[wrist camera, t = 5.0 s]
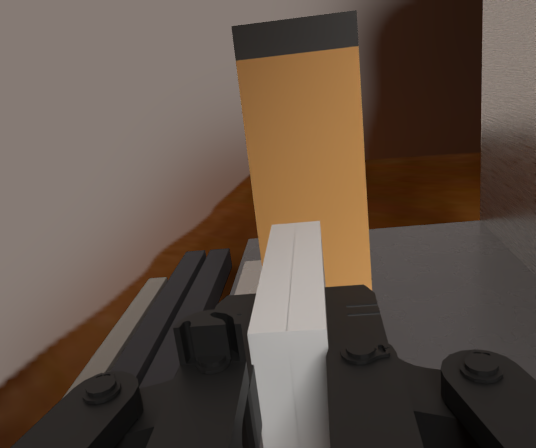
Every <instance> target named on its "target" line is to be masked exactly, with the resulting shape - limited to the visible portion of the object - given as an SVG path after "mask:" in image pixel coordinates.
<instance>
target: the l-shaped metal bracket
mask: <svg viewBox="0 0 536 448" xmlns="http://www.w3.org/2000/svg"><path fill="white" fill-rule="evenodd" d="M482 43H483V45H482V46H483V48H482V115H481V117H482V118H481V120H482V121H481V187H480V221H468V222H455V223H443V224H430V225H418V226H405V227H393V228H380V229H369V243H370V261H371V279H372V291H373V292H374V293H375V296H376V299H377V303H378V307H379V310H380V314H381V318H382V321H383V325H384V329H385V332H386V336H387V340H388V343H389V344H390V345H392V346H393V348H394V349H395V351H396V352H397V356H398V358H400V359H402V360H403V361H405V362H407V363H410V364H413V365H416V366H420V367H425V368H432V369H439V370H441V365H442V361H443V360H444V359H445V358H446V357H447V356H449V355H450V354H453V353H456V352H458V351H461V350H473V349H478V350H487V351H492V352H495V353H498V354H501V355H504V356H506V357H508V358H509V359H511V360H512V361H514V362H515V363H517V364H518V365H519V366H520V367H522V368H523V369H524V370H525V371H526V372H527V373H528V374H530V375H531V376H532V377H533V378H534V379H535V380H536V0H483V42H482ZM261 270H262V263H261V256H260V248H259V240H258V238H255V239H249V240H248V243H247V246H246V249H245V251H244V254H243V257H242V260H241V263H240V266H239V269H238V272H237V275H236V278H235V281H234V284H233V287H232V289H231V292H230V295H241V294H255V293H257V288H258V284H259V279H260V275H261ZM260 448H263V441H262V434H261V440H260Z"/></svg>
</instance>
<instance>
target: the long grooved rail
mask: <svg viewBox="0 0 536 448" xmlns="http://www.w3.org/2000/svg"><path fill="white" fill-rule="evenodd" d="M231 267H232V263H231V256H230V249H229V248H228V249H216V250H210V252H209V254H208V256H207V257H206V253H205V250H203V251H190V252H186V253H185V255H184V256H183V258H182V259H181V261H180V263H179V264H178V266H177V267H176V269H175V270H174V272H173V274H172V275H171V277H170V278H169V280H168V281H167V277H163V278H149V280H148V281H147V282H146V284H145V285H144V286H143V288H142V289H141V291H140V292H139V293H138V295H137V296H136V298H135V299H134V300H133V302H132V303H131V304H130V306H129V307H128V309H127V310H126V311H125V313H124V314H123V315H122V317H121V318H120V320H119V321H118V322H117V324H116V325H115V326H114V328H113V329H112V331H111V332H110V333H109V335H108V336H107V337H106V339H105V340H104V342H103V343H102V344H101V346H100V347H99V348H98V350H97V351H96V353H95V354H94V355H93V357H92V358H91V359H90V361H89V362H88V364H87V365H86V366H85V368H84V369H83V371H82V372H81V373H80V375H79V376H78V377H77V379H76V380H75V382H74V383H73V384H72V386H71V387H70V388H69V390H68V391H67V393H66V394H65V395H64V397H65V396H66V395H67V394H68V393H69V392H70V391H71V390H72V389H73V388H74V387H76V386H77V385H79V384H80V383H81V382H83V381H84V380H86V379H88V378H91V377H93V376H94V375H96V374H100V373H104V372H109V371H124V372H128V373H131V374H133V375H134V376H135V377H136V378H137V379H138V383H139V388H144V387H147V386H151V385H155V384H159V383H163V382H166V381H169V380H171V379H173V378H175V376H176V374H177V371H178V369H179V366H180V362H179V357H178V352H177V347H176V342H175V336H174V331H173V327H174V326H175V325H176V324H177V323H178V321H180V320H181V319H183V318H185V317H186V316H188V315H191V314H194V313H197V312H200V311H206V310H212V309H215V307H216V305H217V304H218V302H219V299H220V297H221V294H222V291H223V289H224V286H225V283H226V281H227V278H228V275H229V273H230V270H231ZM64 397H63V398H64ZM63 398H62V399H63Z"/></svg>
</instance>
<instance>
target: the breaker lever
mask: <svg viewBox="0 0 536 448" xmlns="http://www.w3.org/2000/svg"><path fill="white" fill-rule="evenodd" d="M357 31H358V30H357V12H356V11H348V12H340V13H332V14H324V15H317V16H309V17H301V18H293V19H285V20H278V21H270V22H262V23H254V24H247V25H238V26H232V33H233V42H234V50H235V58H236V66H237V73H238V81H239V89H240V97H241V105H242V113H243V121H244V129H245V136H246V144H247V153H248V160H249V169H250V176H251V184H252V192H253V200H254V208H255V216H256V224H257V232H258V240H259V248H260V256H261V263H262V266H263V262H264V257H265V253H266V248H267V244H268V239H269V235H270V230H271V226H272V225H275V224H287V223H299V222H311V221H320V227H321V238H322V250H323V261H324V273H325V284H326V287H334V286H348V285H363V284H364V285H365V286H367V287H368V288H369V289H370V290H372V279H371V261H370V243H369V225H368V207H367V190H366V172H365V155H364V137H363V119H362V101H361V83H360V65H359V49H358V48H359V47H358V32H357Z"/></svg>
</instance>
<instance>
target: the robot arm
mask: <svg viewBox="0 0 536 448" xmlns="http://www.w3.org/2000/svg"><path fill="white" fill-rule="evenodd" d="M173 331H174V336H175V342H176V347H177V352H178V357H179V362H180V366H179V369H178V371H177V374H176V376H175V378H173V379H171V380H169V381H166V382H163V383H159V384H155V385H151V386H147V387H144V388H139V383H138V379H137V378H136V377H135V376H134V375H133V374H131V373H128V372H124V371H109V372H104V373H100V374H96V375H94V376H93V377H91V378H88V379H86V380H84V381H83V382H81V383H80V384H79V385H77V386H76V387H74V388H73V389H72V390H71V391H70V392H69V393H68V394H67V395H66V396H65V397H64V398H63V399H61V400H60V401H59V402H58V403H57V404H56V405H55V406H54V407H53V408H52V409H51V410H50V411H49V412H48V413H47V414H46V415H44V416H43V417H42V418H41V419H40V420H39V421H38V422H37V423H36V424H35V425H34V426H33V427H32V428H31V429H30V430H29V431H28V432H26V433H25V434H24V435H23V436H22V437H21V438H20V439H19V440H18V441H17V442H16V443H15V444H14V445H13V446H12V447H11V448H260V440H261V434H262V441H263V448H536V380H535V379H534V378H533V377H532V376H531V375H530V374H528V373H527V372H526V371H525V370H524V369H523V368H522V367H520V366H519V365H518V364H517V363H515V362H514V361H512V360H511V359H509V358H508V357H506V356H504V355H501V354H498V353H495V352H492V351H487V350H478V349H473V350H461V351H458V352H456V353H453V354H450V355H449V356H447V357H446V358H445V359H444V360H443V361H442V365H441V370H439V369H432V368H425V367H420V366H416V365H413V364H410V363H407V362H405V361H403V360H402V359H400V358H398V356H397V352H396V351H395V349H394V348H393V346H392V345H390V344H389V343H388V340H387V336H386V332H385V329H384V325H383V321H382V318H381V314H380V310H379V307H378V303H377V299H376V296H375V293H374V292H373V291H372V290H370V289H369V288H368V287H367V286H365V285H364V284H363V285H348V286H334V287H326V284H325V273H324V261H323V250H322V238H321V227H320V221H311V222H299V223H287V224H275V225H272V226H271V230H270V235H269V239H268V244H267V248H266V253H265V257H264V262H263V266H262V270H261V275H260V279H259V284H258V288H257V293H255V294H241V295H227V296H226V297H225V298H224V299H223V300H222V301H220V302H219V303H218V304H217V305H216V307H215V309H212V310H206V311H200V312H197V313H194V314H191V315H188V316H186V317H185V318H183V319H181V320H180V321H178V323H177V324H176V325H175V326H174V327H173Z"/></svg>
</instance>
